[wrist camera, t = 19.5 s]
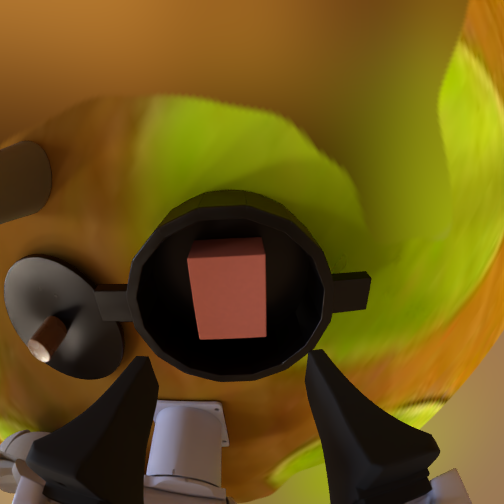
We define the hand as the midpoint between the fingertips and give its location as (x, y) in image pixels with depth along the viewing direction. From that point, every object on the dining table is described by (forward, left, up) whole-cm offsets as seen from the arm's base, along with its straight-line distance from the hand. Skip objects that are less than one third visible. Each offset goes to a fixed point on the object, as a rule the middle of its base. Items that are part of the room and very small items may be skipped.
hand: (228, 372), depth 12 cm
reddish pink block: (0, 0, -9) cm, 9 cm away
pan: (0, 0, -9) cm, 9 cm away
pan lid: (-4, +16, -9) cm, 19 cm away
